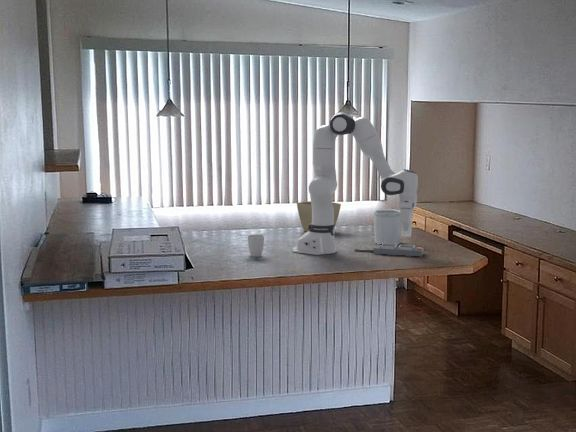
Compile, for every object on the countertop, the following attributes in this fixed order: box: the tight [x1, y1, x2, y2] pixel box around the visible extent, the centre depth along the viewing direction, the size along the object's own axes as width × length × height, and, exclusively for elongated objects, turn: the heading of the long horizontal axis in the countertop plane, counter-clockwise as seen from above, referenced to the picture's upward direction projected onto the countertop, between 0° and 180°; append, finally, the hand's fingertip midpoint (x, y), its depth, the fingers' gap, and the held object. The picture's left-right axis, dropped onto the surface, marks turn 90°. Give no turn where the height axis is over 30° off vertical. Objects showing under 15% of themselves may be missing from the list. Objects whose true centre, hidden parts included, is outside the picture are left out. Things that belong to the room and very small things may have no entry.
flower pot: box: [296, 200, 342, 232], centre depth 418 cm, size 19×19×17 cm
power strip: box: [354, 243, 425, 258], centre depth 360 cm, size 35×8×4 cm, turn 73°
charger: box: [400, 219, 413, 238], centre depth 355 cm, size 4×4×8 cm
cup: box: [247, 234, 265, 258], centre depth 352 cm, size 8×8×10 cm
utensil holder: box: [373, 208, 402, 245], centre depth 384 cm, size 15×15×18 cm
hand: (406, 229), depth 355 cm, fingers closed on charger, 4 cm apart
